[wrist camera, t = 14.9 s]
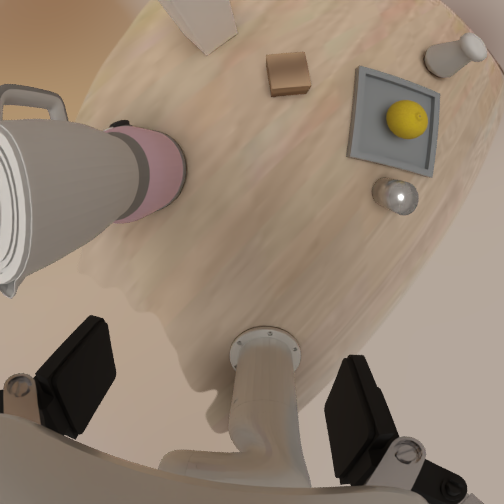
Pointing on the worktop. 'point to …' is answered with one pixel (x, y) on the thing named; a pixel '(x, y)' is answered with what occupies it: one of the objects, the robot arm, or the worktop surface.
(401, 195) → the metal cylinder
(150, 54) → the worktop surface
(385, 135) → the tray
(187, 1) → the milk
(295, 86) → the walnut block
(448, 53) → the salt shaker
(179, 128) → the worktop surface
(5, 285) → the blender
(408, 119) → the lemon
